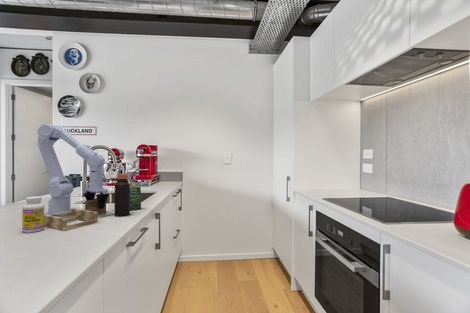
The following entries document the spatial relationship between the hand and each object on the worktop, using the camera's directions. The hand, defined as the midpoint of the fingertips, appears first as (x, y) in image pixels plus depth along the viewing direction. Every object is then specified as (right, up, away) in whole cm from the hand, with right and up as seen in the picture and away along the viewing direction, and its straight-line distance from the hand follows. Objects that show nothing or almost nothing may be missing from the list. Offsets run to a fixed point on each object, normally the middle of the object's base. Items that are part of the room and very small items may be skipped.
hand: (96, 207), depth 125 cm
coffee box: (+13, -4, +13) cm, 18 cm away
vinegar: (+13, -4, +1) cm, 13 cm away
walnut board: (0, -3, 0) cm, 3 cm away
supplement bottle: (-10, -4, -26) cm, 28 cm away
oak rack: (-3, -4, -16) cm, 16 cm away
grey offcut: (-7, -2, -14) cm, 16 cm away
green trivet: (0, -4, 0) cm, 4 cm away
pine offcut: (-7, -4, -14) cm, 16 cm away
